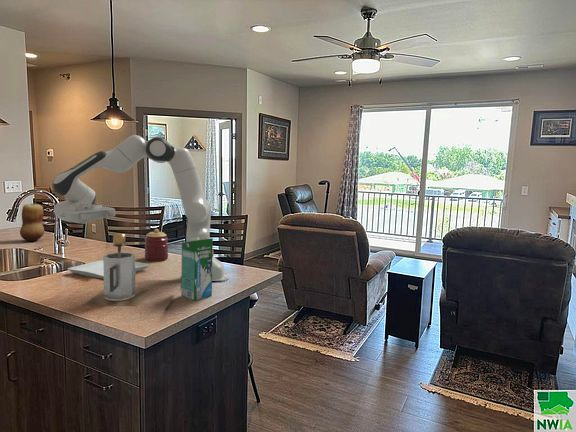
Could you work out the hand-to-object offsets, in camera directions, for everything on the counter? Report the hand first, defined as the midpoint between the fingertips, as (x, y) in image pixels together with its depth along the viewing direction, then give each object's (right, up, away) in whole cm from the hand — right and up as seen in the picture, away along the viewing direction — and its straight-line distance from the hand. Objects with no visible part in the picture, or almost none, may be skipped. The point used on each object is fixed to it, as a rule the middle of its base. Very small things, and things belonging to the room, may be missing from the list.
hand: (101, 215), depth 160 cm
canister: (0, -25, +66) cm, 70 cm away
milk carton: (+38, -34, +5) cm, 51 cm away
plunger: (+9, -31, -5) cm, 33 cm away
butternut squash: (-95, -17, +101) cm, 140 cm away
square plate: (-13, -29, +35) cm, 47 cm away
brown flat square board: (+9, -34, -4) cm, 35 cm away
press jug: (+9, -32, -6) cm, 34 cm away
